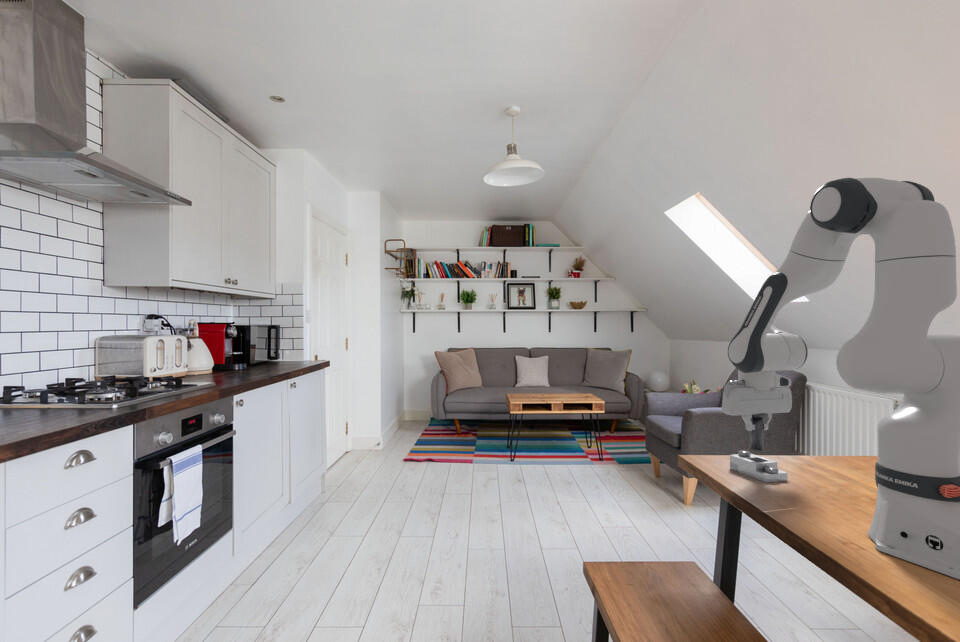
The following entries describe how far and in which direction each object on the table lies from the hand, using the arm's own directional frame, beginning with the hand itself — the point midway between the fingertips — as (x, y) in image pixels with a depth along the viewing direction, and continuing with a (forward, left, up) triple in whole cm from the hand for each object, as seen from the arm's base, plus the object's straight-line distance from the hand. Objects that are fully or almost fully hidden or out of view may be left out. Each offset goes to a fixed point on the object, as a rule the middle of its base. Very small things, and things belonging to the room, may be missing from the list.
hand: (757, 430), depth 126 cm
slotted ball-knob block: (0, 0, -12) cm, 12 cm away
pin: (0, 0, -5) cm, 5 cm away
